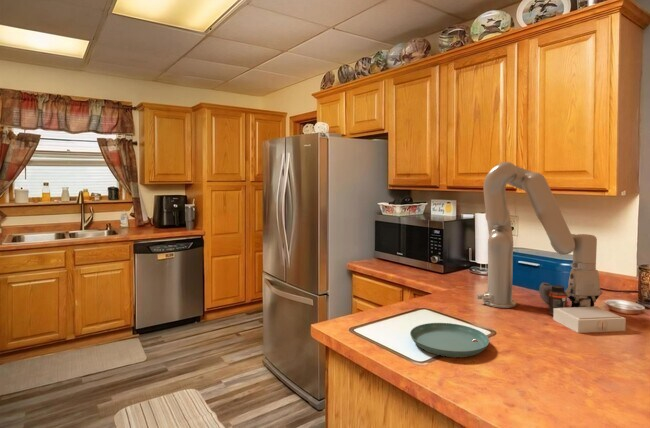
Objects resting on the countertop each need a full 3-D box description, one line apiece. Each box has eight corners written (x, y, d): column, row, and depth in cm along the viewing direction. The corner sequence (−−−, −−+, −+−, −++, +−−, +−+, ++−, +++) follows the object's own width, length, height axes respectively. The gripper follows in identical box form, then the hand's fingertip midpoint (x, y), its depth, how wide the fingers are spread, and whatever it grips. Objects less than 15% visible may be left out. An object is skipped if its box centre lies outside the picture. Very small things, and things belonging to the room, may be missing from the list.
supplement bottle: (568, 317, 147) (569, 288, 146) (551, 316, 148) (552, 287, 147) (562, 312, 152) (563, 284, 152) (546, 311, 154) (546, 283, 153)
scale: (578, 333, 132) (579, 319, 131) (553, 319, 145) (553, 307, 144) (626, 331, 133) (626, 317, 132) (596, 317, 146) (597, 305, 145)
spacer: (580, 315, 149) (581, 300, 149) (571, 311, 154) (572, 296, 154) (593, 314, 149) (593, 299, 149) (583, 310, 154) (584, 295, 154)
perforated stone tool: (557, 307, 159) (558, 291, 158) (543, 306, 161) (543, 289, 160) (551, 297, 173) (552, 282, 172) (538, 296, 175) (538, 281, 174)
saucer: (501, 344, 125) (501, 334, 124) (468, 370, 108) (468, 359, 107) (433, 325, 142) (433, 316, 141) (395, 346, 125) (395, 336, 124)
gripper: (569, 268, 146) (568, 315, 147) (612, 267, 147) (610, 313, 149) (556, 264, 154) (555, 309, 155) (597, 263, 155) (596, 307, 156)
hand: (582, 311), depth 152 cm, fingers open, 5 cm apart
